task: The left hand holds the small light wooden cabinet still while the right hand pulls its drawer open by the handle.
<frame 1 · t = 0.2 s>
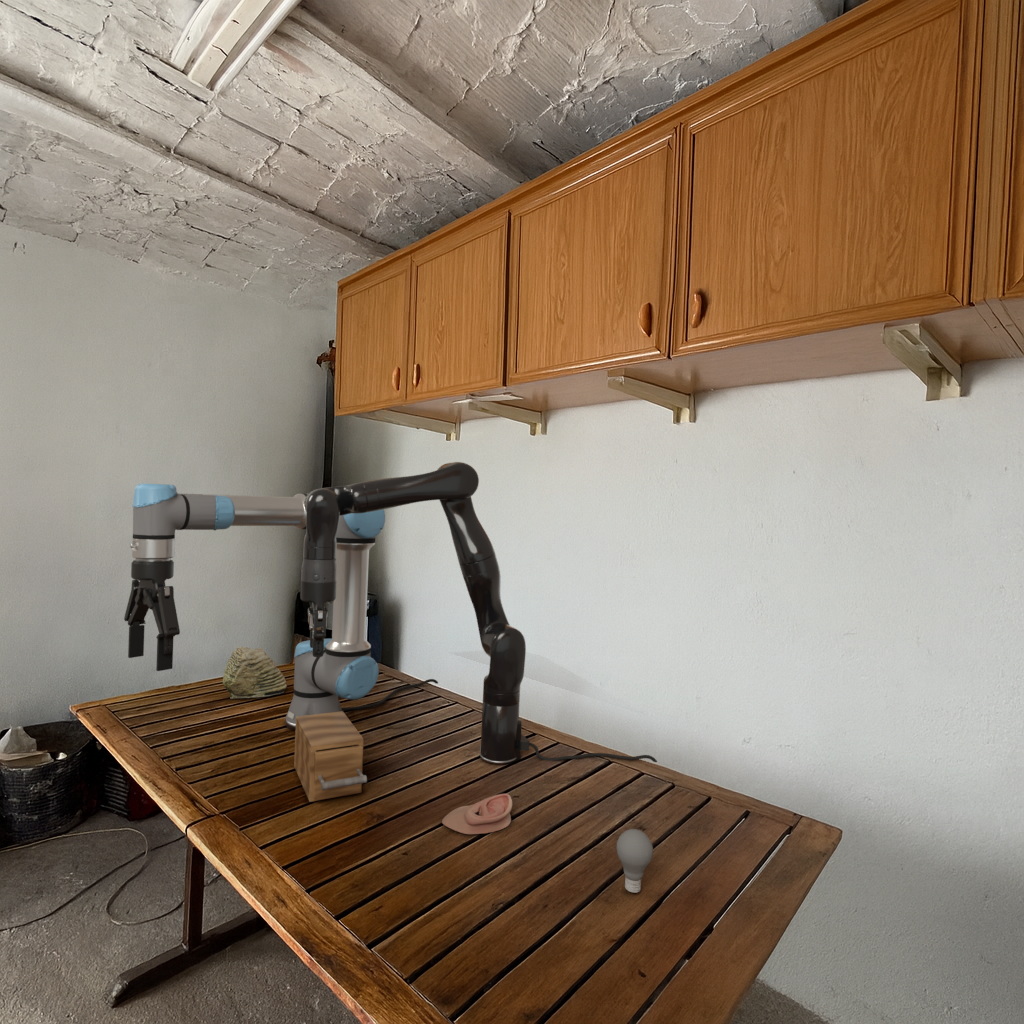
left hand: (149, 663, 129), 28 cm above the table, tool pointing down, fingers open, 13 cm apart
right hand: (316, 651, 140), 29 cm above the table, tool pointing down, fingers open, 8 cm apart
fossil: (254, 694, 198), on the table
light bulb: (632, 891, 106), on the table
anatomical model: (477, 821, 126), on the table
cabinet: (326, 778, 142), on the table
drawer: (332, 762, 138), point 6 cm above the table, slide at 0.6 cm
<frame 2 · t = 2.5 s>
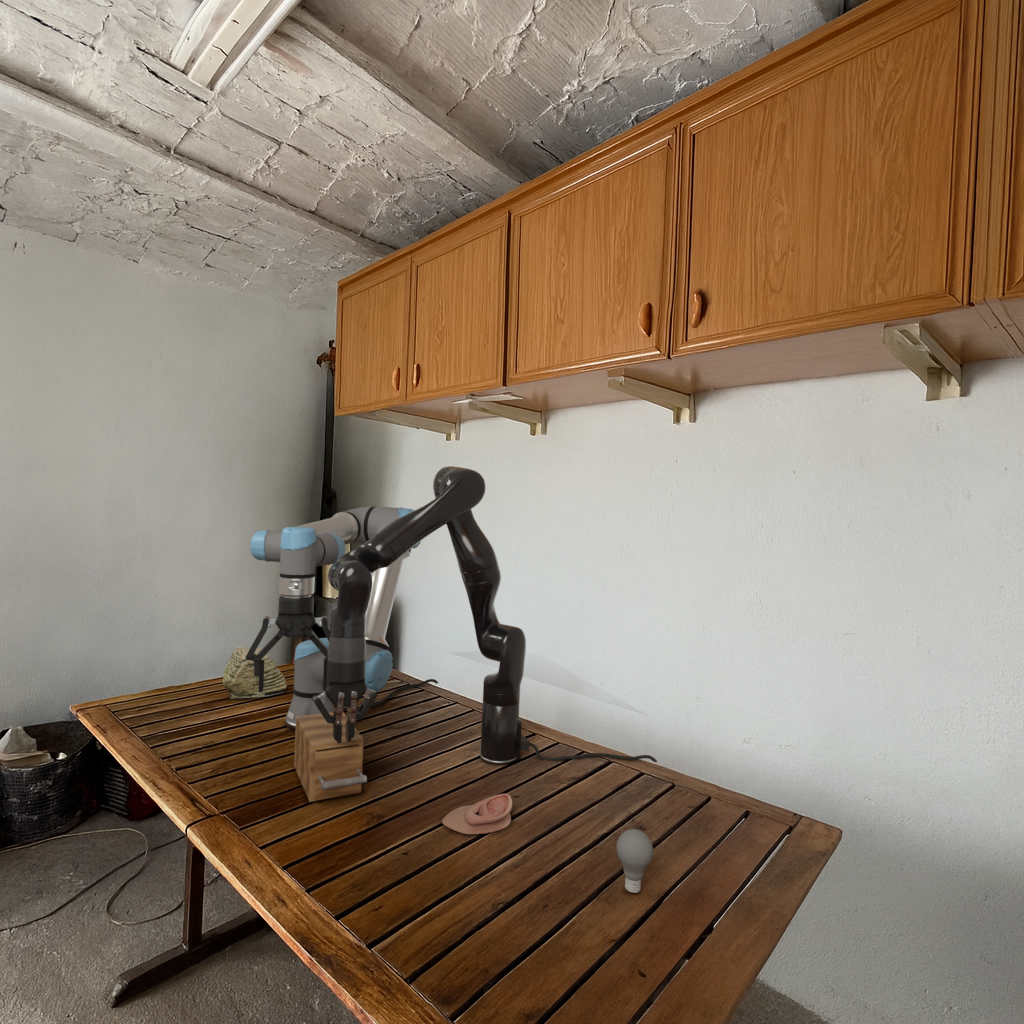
left hand: (293, 689, 143), 20 cm above the table, tool pointing down, fingers open, 13 cm apart
right hand: (343, 740, 130), 14 cm above the table, tool pointing down, fingers closed
nothing on the table moved.
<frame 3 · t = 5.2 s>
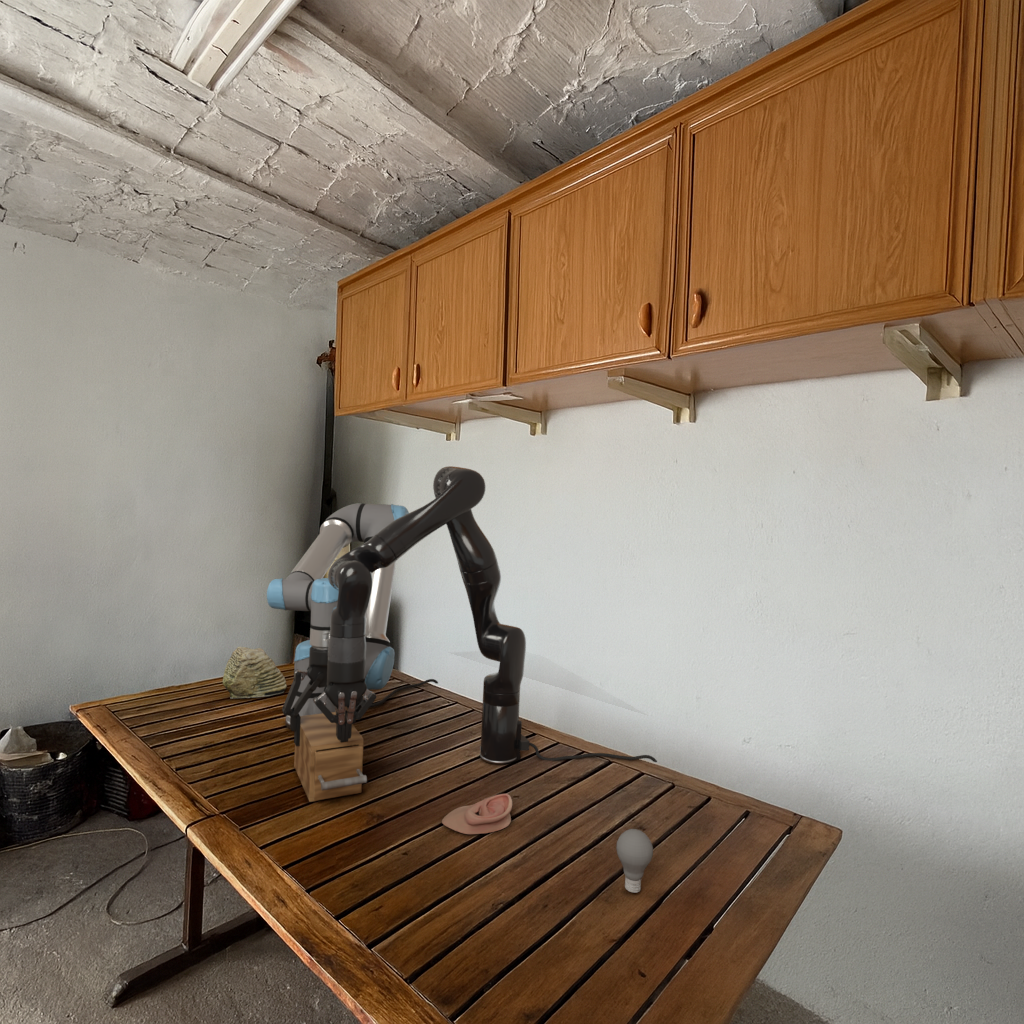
left hand: (322, 740, 147), 7 cm above the table, tool pointing down, fingers closed on cabinet, 11 cm apart
right hand: (343, 740, 130), 14 cm above the table, tool pointing down, fingers closed
cabinet: (326, 778, 142), on the table, touching left hand
everything else where it was.
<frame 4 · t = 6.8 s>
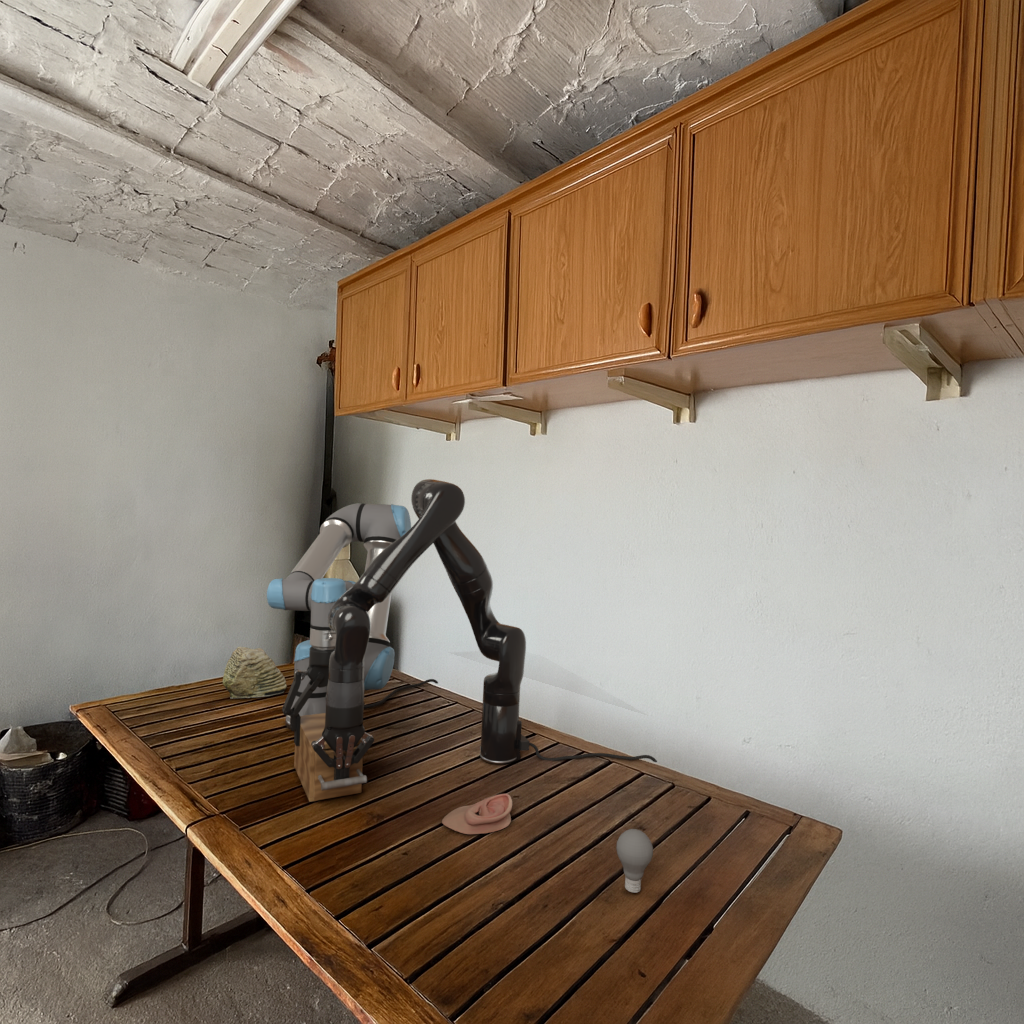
left hand: (322, 740, 147), 7 cm above the table, tool pointing down, fingers closed on cabinet, 11 cm apart
right hand: (341, 784, 130), 5 cm above the table, tool pointing down, fingers closed
cabinet: (326, 778, 142), on the table, touching left hand
everything else where it was.
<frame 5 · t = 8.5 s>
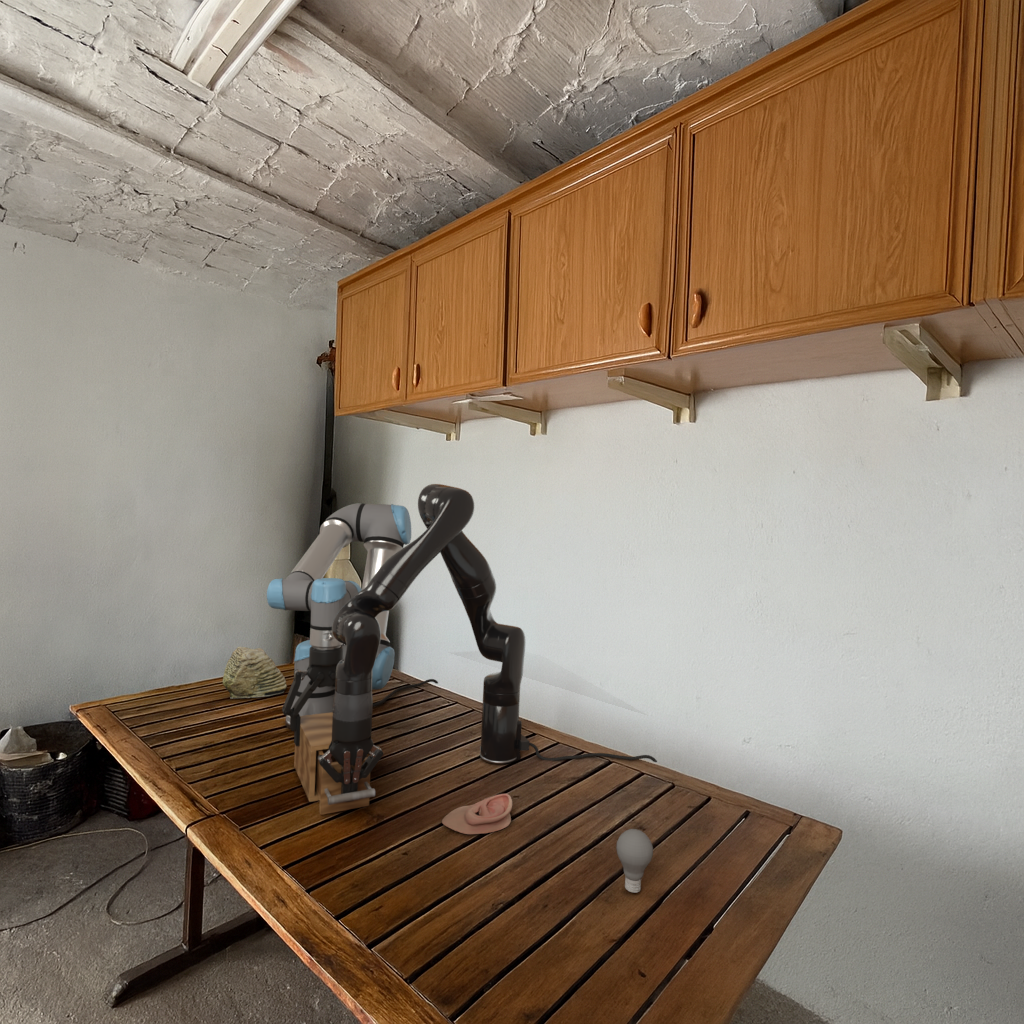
left hand: (322, 740, 146), 7 cm above the table, tool pointing down, fingers closed on cabinet, 11 cm apart
right hand: (349, 799, 124), 4 cm above the table, tool pointing down, fingers closed
cabinet: (326, 778, 142), on the table, touching left hand
drawer: (339, 773, 132), point 6 cm above the table, slide at 7.0 cm, touching right hand
everything else where it was.
when the left hand's fingers open (7 cm above the table, at t = 10.2 s): cabinet stays where it is, on the table.
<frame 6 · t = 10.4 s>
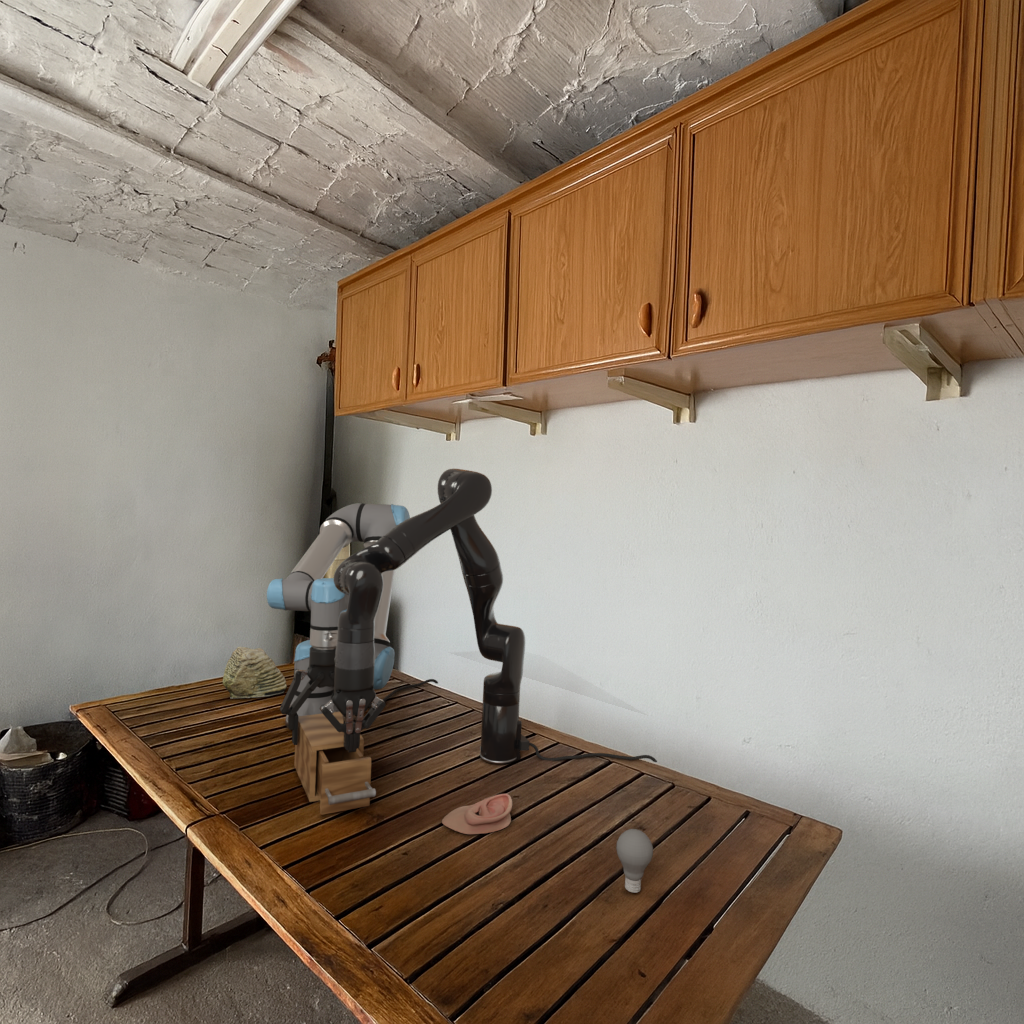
left hand: (323, 739, 147), 7 cm above the table, tool pointing down, fingers open, 12 cm apart
right hand: (351, 750, 124), 14 cm above the table, tool pointing down, fingers closed
cabinet: (326, 779, 142), on the table
drawer: (339, 773, 132), point 6 cm above the table, slide at 7.0 cm
everything else where it was.
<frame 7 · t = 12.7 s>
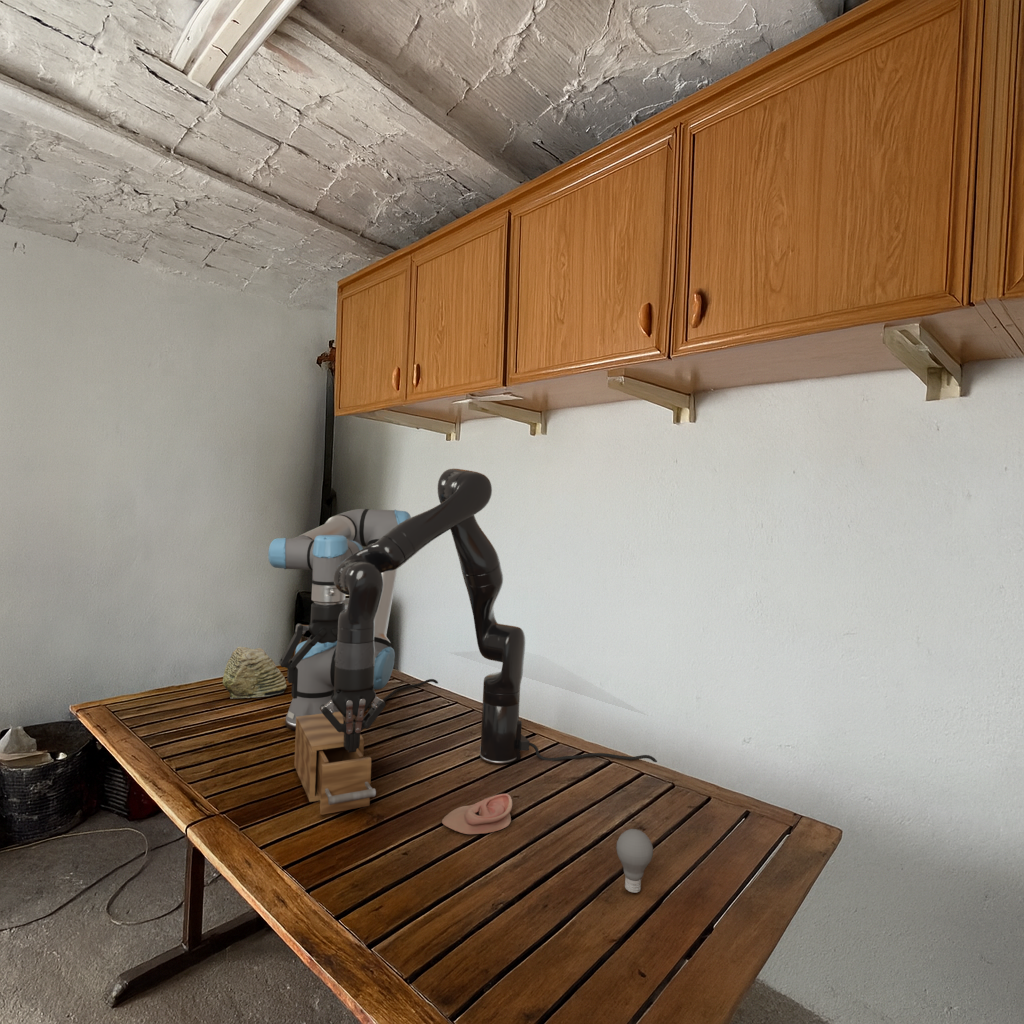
left hand: (324, 693, 146), 18 cm above the table, tool pointing down, fingers open, 13 cm apart
right hand: (351, 750, 124), 14 cm above the table, tool pointing down, fingers closed
nothing on the table moved.
at the end: drawer slide at 7.0 cm; cabinet tilted 0°; cabinet never tilted more than 1° during the clip; cabinet moved 0.1 cm from its start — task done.
